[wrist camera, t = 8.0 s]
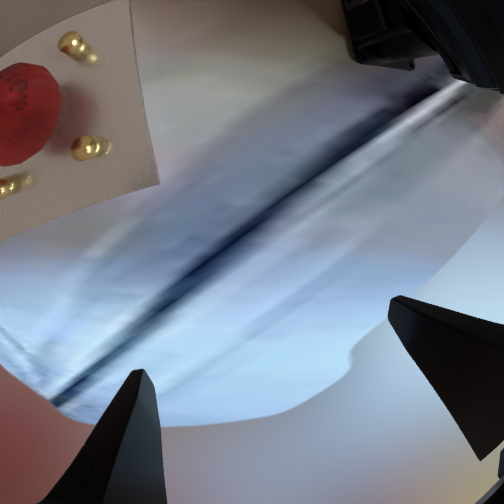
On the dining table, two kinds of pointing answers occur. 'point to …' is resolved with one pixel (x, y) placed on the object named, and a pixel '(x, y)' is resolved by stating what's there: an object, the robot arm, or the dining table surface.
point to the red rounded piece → (26, 111)
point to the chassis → (82, 121)
